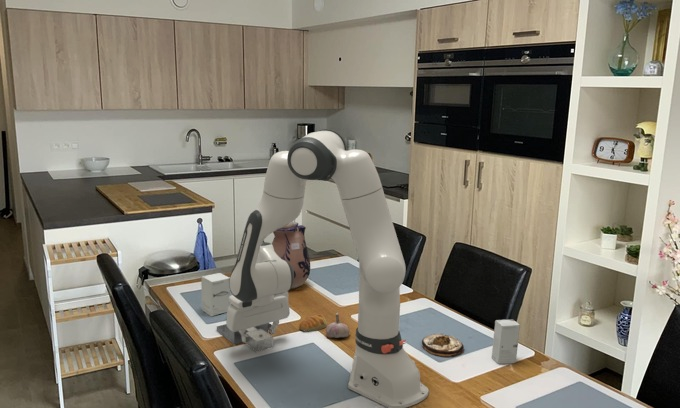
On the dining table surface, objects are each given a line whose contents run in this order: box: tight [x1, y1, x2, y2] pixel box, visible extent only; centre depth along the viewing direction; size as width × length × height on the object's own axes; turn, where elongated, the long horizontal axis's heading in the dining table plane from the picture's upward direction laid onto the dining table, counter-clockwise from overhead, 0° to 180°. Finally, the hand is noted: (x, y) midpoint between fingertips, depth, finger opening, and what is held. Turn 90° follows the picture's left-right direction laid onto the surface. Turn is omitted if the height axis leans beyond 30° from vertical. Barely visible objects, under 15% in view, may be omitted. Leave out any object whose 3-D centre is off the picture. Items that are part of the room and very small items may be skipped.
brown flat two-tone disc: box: [421, 333, 465, 358], centre depth 170 cm, size 15×15×4 cm
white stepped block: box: [244, 327, 274, 353], centre depth 168 cm, size 10×6×4 cm, turn 38°
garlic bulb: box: [325, 312, 350, 339], centre depth 175 cm, size 8×7×8 cm
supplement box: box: [200, 272, 231, 317], centre depth 191 cm, size 7×7×13 cm
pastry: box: [298, 313, 328, 332], centre depth 181 cm, size 9×7×4 cm
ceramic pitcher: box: [262, 221, 311, 290], centre depth 217 cm, size 18×21×25 cm
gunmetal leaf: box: [216, 323, 269, 346], centre depth 175 cm, size 12×12×4 cm
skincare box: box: [491, 319, 521, 365], centre depth 162 cm, size 6×4×12 cm
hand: (259, 337), depth 167 cm, fingers open, 8 cm apart
